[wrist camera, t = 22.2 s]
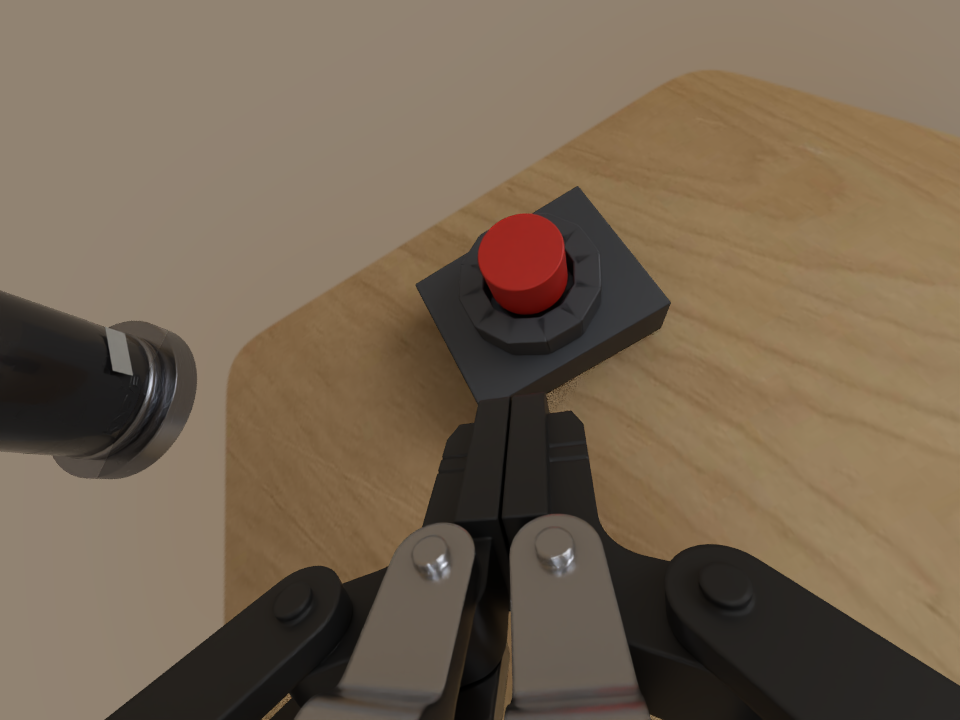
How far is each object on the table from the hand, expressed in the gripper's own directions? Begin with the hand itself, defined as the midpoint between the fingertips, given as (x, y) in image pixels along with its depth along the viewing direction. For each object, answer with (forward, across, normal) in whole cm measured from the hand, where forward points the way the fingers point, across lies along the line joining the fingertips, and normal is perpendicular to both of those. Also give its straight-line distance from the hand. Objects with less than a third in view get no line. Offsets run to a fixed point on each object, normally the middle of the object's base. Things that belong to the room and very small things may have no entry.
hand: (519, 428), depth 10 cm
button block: (+15, 0, +3) cm, 15 cm away
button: (+12, 0, 0) cm, 12 cm away
